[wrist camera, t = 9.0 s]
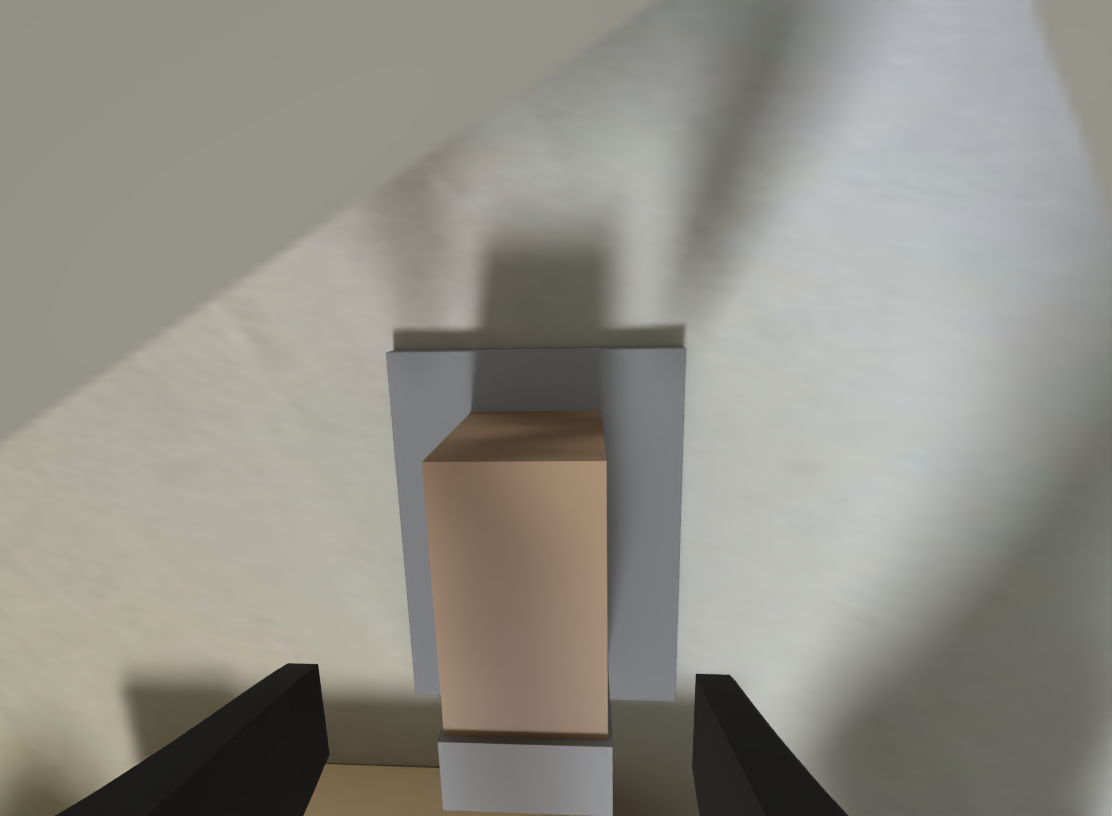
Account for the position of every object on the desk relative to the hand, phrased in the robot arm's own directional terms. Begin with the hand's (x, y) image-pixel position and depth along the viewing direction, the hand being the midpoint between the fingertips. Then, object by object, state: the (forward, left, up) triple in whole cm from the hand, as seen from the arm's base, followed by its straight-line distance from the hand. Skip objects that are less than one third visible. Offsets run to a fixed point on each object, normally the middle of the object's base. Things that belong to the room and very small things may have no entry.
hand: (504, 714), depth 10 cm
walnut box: (0, -1, -7) cm, 7 cm away
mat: (0, 0, -8) cm, 8 cm away
